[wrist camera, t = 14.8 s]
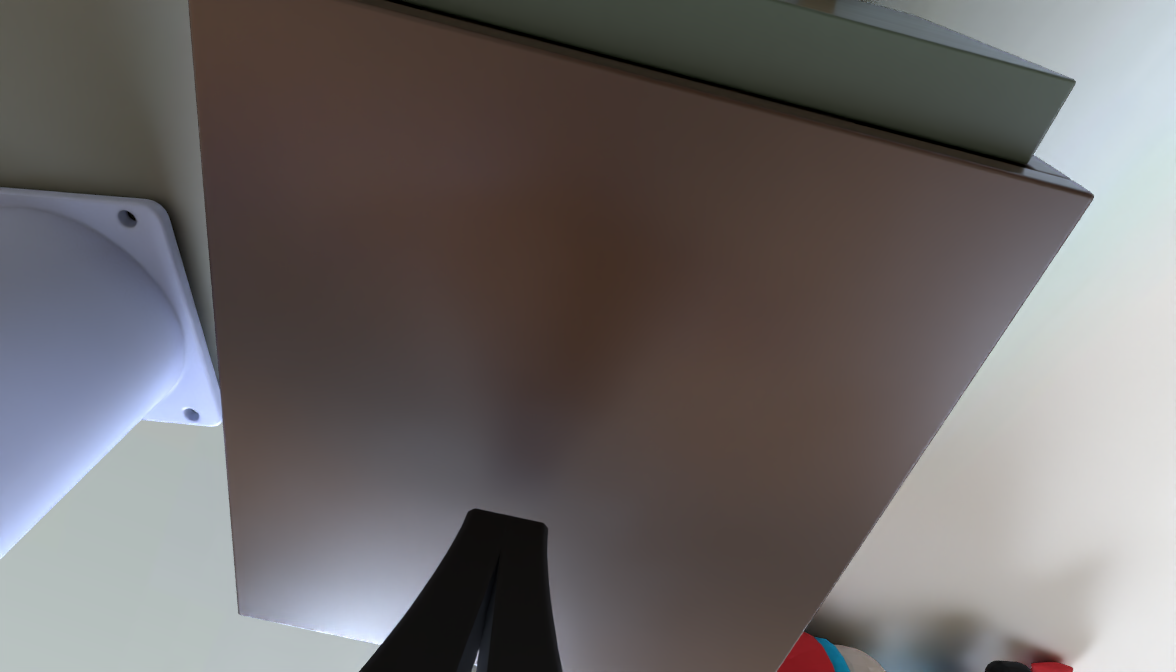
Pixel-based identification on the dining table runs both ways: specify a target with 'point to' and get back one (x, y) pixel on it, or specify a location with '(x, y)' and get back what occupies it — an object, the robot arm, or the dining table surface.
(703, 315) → the cabinet
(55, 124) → the dining table surface
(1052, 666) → the toy figure
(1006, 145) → the drawer
